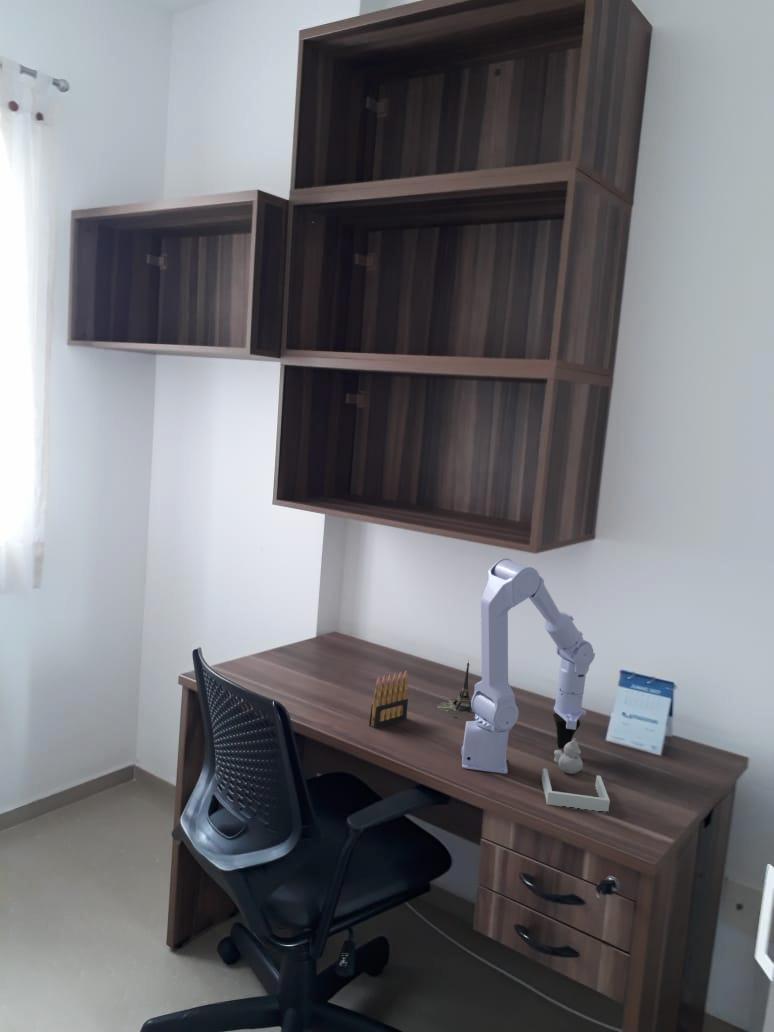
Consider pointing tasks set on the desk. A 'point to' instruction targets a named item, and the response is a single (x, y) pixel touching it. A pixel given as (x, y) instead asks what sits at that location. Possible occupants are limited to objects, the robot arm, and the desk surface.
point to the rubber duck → (569, 758)
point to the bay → (576, 796)
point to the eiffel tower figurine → (458, 699)
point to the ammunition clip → (389, 701)
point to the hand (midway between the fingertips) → (562, 747)
